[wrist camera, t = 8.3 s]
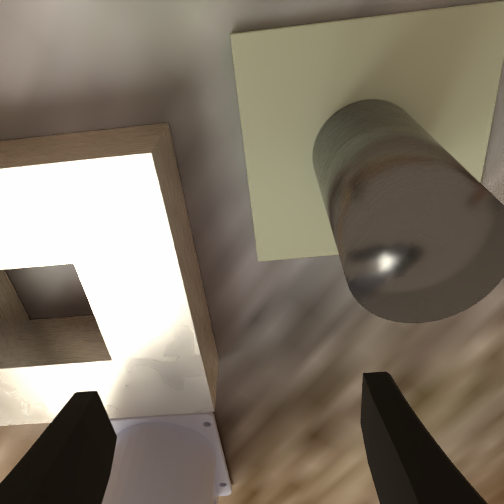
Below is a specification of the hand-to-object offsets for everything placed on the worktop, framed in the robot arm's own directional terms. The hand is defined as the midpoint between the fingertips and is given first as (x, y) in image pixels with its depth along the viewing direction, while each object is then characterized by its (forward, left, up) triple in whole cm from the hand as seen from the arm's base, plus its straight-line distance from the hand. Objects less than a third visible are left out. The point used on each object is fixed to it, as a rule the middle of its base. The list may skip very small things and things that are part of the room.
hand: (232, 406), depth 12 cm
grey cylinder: (+3, -6, -10) cm, 12 cm away
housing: (-2, +9, -10) cm, 14 cm away
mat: (+3, -6, -10) cm, 12 cm away
